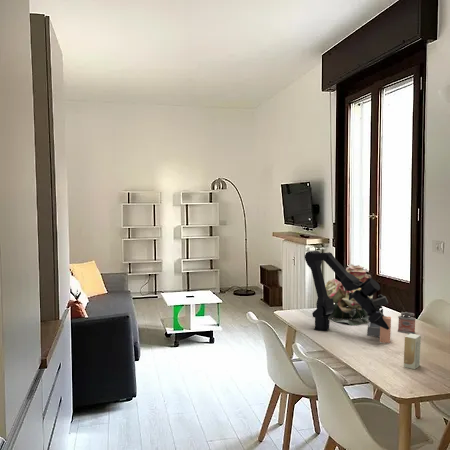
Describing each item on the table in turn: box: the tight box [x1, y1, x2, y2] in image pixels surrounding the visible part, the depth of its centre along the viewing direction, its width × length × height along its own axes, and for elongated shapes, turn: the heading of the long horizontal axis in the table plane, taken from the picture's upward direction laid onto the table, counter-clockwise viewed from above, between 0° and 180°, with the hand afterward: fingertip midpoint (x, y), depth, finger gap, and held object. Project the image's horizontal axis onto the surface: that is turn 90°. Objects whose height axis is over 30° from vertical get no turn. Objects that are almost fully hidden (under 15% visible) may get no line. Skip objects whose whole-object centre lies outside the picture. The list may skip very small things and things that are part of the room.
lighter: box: [397, 311, 417, 335], centre depth 243 cm, size 8×3×10 cm, turn 62°
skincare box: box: [403, 333, 422, 370], centre depth 193 cm, size 6×4×12 cm
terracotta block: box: [379, 315, 392, 344], centre depth 227 cm, size 4×4×11 cm
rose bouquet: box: [325, 263, 374, 326], centre depth 267 cm, size 26×29×30 cm
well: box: [366, 321, 380, 338], centre depth 240 cm, size 10×10×4 cm
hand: (388, 327), depth 227 cm, fingers open, 7 cm apart
